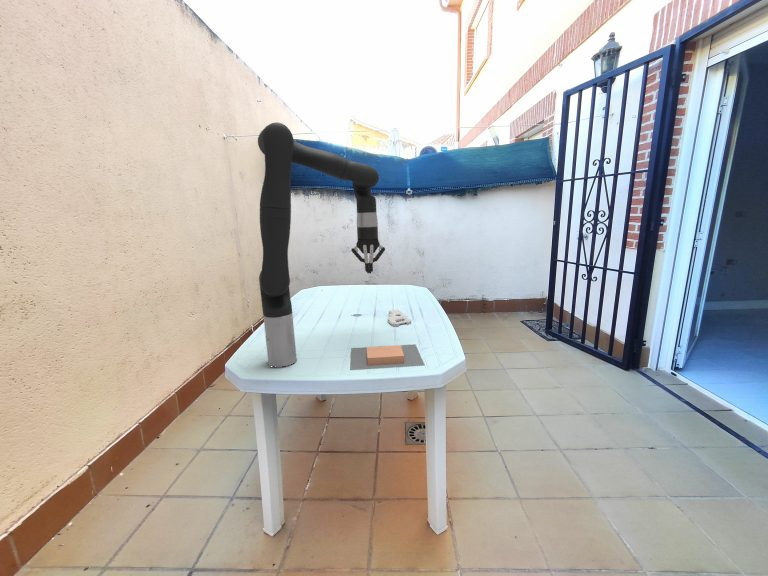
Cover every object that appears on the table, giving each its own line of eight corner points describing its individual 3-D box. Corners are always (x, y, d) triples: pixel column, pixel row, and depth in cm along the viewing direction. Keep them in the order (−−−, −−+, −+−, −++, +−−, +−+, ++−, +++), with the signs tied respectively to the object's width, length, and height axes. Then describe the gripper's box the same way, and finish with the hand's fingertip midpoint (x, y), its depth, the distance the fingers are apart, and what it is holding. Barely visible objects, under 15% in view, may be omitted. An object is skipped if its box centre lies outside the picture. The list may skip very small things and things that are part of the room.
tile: (367, 354, 120) (367, 365, 111) (366, 347, 119) (367, 358, 111) (400, 351, 121) (404, 362, 112) (400, 345, 120) (404, 355, 111)
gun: (381, 309, 164) (400, 307, 167) (381, 316, 165) (400, 314, 167) (393, 322, 147) (414, 319, 150) (393, 329, 148) (414, 327, 151)
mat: (350, 371, 108) (349, 370, 108) (351, 349, 126) (351, 348, 126) (424, 366, 110) (424, 365, 110) (415, 345, 127) (415, 344, 127)
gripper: (348, 226, 119) (351, 275, 123) (386, 225, 120) (387, 274, 123) (349, 225, 126) (351, 272, 130) (384, 224, 127) (386, 270, 131)
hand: (369, 272), depth 127 cm, fingers closed
